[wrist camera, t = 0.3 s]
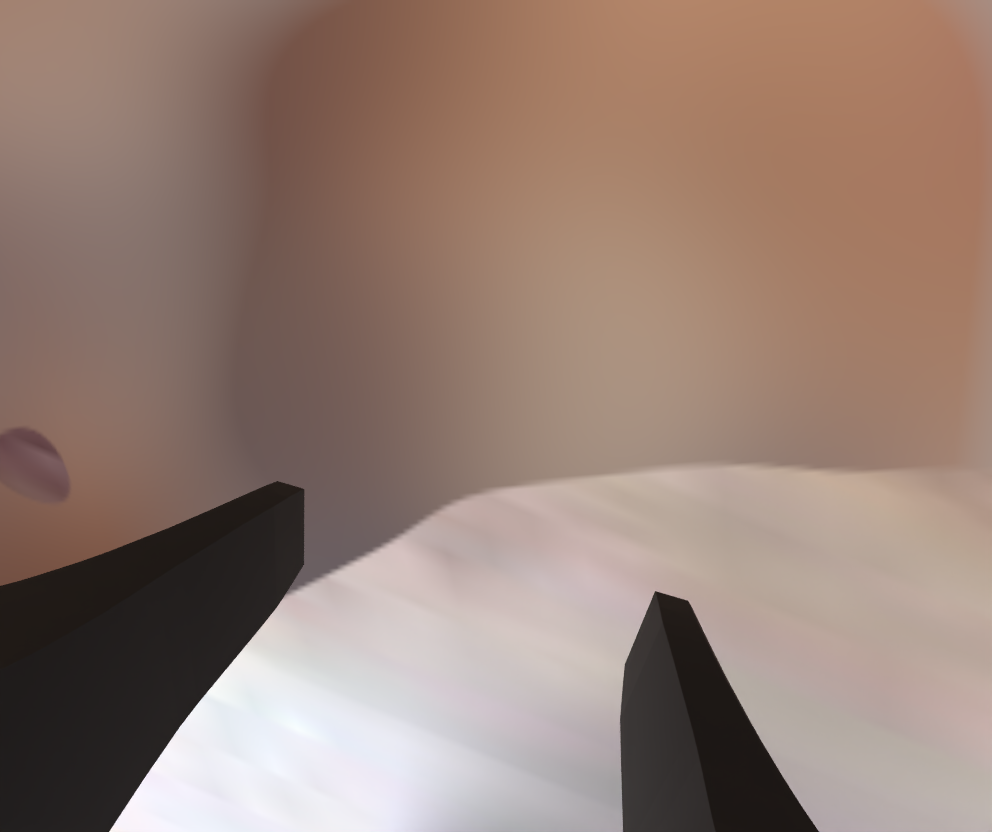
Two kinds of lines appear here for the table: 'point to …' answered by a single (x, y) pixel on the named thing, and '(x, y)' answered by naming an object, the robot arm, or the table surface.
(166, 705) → the robot arm
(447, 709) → the table surface
